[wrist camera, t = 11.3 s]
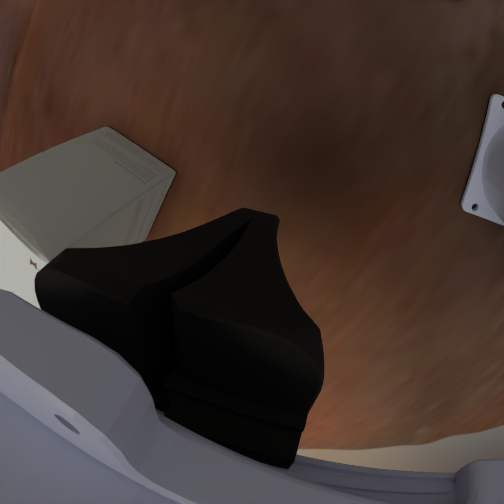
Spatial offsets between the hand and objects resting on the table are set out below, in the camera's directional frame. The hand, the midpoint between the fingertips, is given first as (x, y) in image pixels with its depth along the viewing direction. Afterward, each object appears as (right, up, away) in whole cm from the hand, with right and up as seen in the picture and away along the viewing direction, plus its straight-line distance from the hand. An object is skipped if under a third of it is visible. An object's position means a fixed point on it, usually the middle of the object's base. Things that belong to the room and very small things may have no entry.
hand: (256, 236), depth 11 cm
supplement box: (-10, +5, +13) cm, 17 cm away
